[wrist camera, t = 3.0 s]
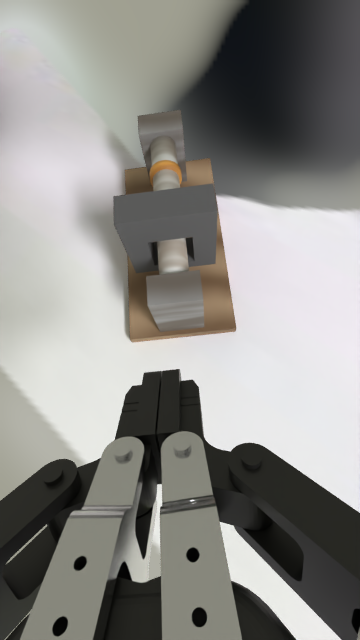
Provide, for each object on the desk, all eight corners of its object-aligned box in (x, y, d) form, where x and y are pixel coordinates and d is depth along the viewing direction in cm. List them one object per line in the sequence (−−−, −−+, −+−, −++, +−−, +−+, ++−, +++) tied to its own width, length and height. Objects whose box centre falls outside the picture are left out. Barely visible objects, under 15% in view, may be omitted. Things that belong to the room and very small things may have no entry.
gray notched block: (215, 263, 35) (217, 211, 26) (136, 273, 35) (113, 224, 27) (212, 241, 36) (213, 183, 27) (135, 250, 36) (113, 196, 28)
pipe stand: (235, 331, 36) (243, 300, 27) (132, 342, 36) (109, 315, 28) (209, 165, 44) (210, 102, 36) (127, 176, 45) (108, 117, 36)
